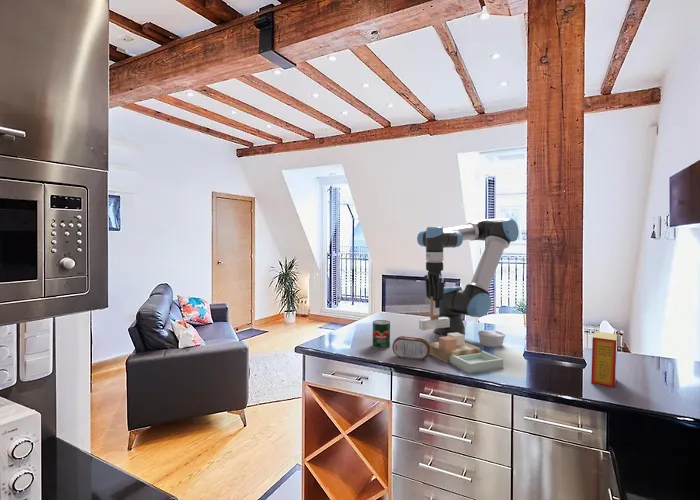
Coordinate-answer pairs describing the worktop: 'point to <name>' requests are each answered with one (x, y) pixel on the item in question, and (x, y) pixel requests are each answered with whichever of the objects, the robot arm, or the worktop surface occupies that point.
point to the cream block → (458, 338)
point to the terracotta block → (447, 343)
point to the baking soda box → (604, 359)
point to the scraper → (434, 320)
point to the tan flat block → (451, 351)
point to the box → (477, 362)
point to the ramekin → (491, 338)
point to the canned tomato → (381, 334)
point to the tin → (411, 347)
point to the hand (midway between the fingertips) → (434, 314)
